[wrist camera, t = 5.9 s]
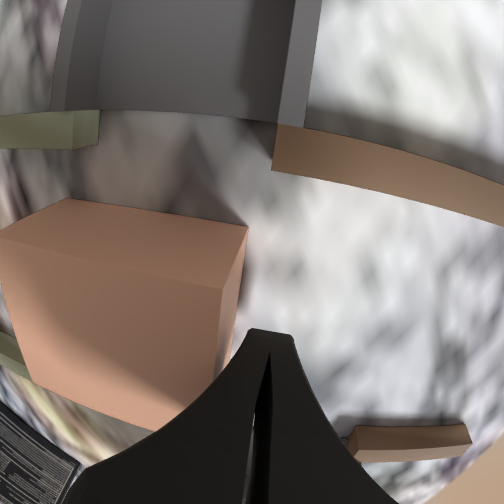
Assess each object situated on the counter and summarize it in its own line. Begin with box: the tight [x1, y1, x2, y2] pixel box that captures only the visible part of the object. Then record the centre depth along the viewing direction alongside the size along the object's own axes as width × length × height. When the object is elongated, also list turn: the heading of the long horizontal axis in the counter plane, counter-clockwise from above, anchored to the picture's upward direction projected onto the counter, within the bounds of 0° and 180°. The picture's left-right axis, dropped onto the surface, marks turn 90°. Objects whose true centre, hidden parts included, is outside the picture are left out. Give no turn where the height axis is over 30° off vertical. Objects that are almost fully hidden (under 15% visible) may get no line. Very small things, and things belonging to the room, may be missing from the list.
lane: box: [0, 110, 504, 462], centre depth 11 cm, size 13×32×2 cm, turn 82°
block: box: [0, 198, 249, 432], centre depth 10 cm, size 6×7×4 cm
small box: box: [0, 402, 82, 504], centre depth 16 cm, size 11×6×10 cm, turn 52°
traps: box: [50, 0, 361, 502], centre depth 11 cm, size 25×13×2 cm, turn 172°
